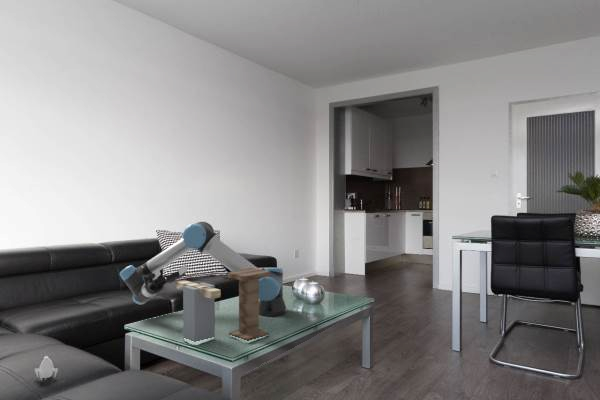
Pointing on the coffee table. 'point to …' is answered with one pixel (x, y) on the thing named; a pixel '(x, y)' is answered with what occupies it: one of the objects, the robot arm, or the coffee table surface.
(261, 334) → the walnut stand
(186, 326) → the slotted block
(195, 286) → the birch bar
